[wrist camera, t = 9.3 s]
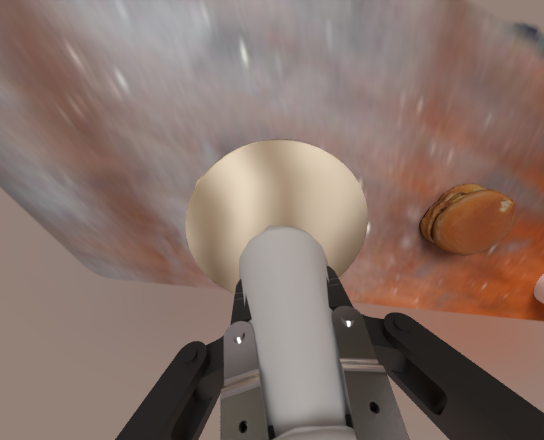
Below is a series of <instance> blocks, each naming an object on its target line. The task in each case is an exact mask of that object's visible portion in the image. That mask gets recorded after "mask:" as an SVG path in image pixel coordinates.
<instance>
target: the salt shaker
mask: <svg viewBox="0 0 544 440" xmlns="http://www.w3.org/2000/svg"><path fill="white" fill-rule="evenodd" d="M327 266H328V261H327V259H326V256H325V253H324V250H323V248H322V246H321V245H320V244H319V242H318V241H316V240H315V239H314V238H313V237H312V236H311V235H310V234H308V233H307V232H306V231H304V230H302V229H299V228H297V227H295V226H276V225H269V226H268V227H267V228H266V229H265V230H264V231H263V232H262V233H260V234H259V235H257V236H256V237H254V238H252V239H251V240H250V241H249V242H248V244H247V246H246V247H245V249H244V251H243V252H242V254H241V256H240V259H239V277H240V279H241V280H242V287H243V296H244V304H245V297H246V296H247V300H248V304H249V309H250V313H251V317H252V319H251V320H250V321H249V322H248V323H249V324H250V325H251V326H252V329H253V332H254V338H255V344H256V350H257V356H258V362H259V369H260V375H261V381H262V387H263V393H264V399H265V405H266V411H267V421H268V426H270V425H273V427H274V432H275V436H276V438H274V439H272V440H357V439H356V436H355V431H354V430H353V428H351V427H348V426H346V419H345V414H349V409H348V405H347V401H346V400H345V395H344V389H343V383H342V377H341V371H340V365H339V359H338V353H337V347H336V340H335V334H334V328H333V322H332V314H333V310H332V309H330V308H329V303H328V292H327V281H326V277H327V279H328V273H327ZM328 282H329V279H328Z"/></svg>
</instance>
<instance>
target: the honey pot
mask: <svg viewBox="0 0 544 440" xmlns="http://www.w3.org/2000/svg"><path fill="white" fill-rule="evenodd" d="M534 296H535V298H536V299H537V300H538V301H540V302H542V303H543V304H544V274H543V275H542V276H541V277H540V279H539V280H538V282H537V283H536V285H535V288H534Z"/></svg>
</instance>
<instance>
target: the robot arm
mask: <svg viewBox="0 0 544 440" xmlns="http://www.w3.org/2000/svg"><path fill="white" fill-rule="evenodd" d="M327 273H328V279H329V282H328V279H327V277H326V281H327V292H328V303H329V308H330V309H332V310H333V314H332V322H333V328H334V334H335V340H336V347H337V353H338V359H339V365H340V371H341V377H342V383H343V389H344V395H345V400H346V401H347V405H348V409H349V414H345V419H346V426H348V427H351V428H353V430H354V431H355V436H356V439H357V440H410V439H409V436H408V433H407V431H406V428H405V425H404V422H403V419H402V416H401V413H400V410H399V408H398V405H397V402H396V399H395V396H394V393H393V390H392V387H391V385H390V382H389V379H388V376H389V377H390V378H391V379H392V380H393V381H394V382H395V383H396V384H397V385H398V386H399V387H400V388H401V389H402V390H403V391H404V392H405V393H406V394H407V396H409V398H410V399H411V400H412V401H413V402H414V403H415V404H416V405H417V406H418V407H419V408H420V409H421V410H422V411H423V412H424V413H425V414H426V415H427V416H428V417H429V418H430V420H432V422H433V423H434V424H435V425H436V426H437V427H438V428H439V429H440V430H441V431H442V432H443V433H444V434H445V435H446V436H447V437H448V438H449V439H450V440H544V413H543V412H541V411H540V410H538V409H537V408H536V407H534V406H533V405H532V404H530V403H529V402H527V401H526V400H525V399H523V398H522V397H521V396H519V395H518V394H516V393H515V392H513V391H512V390H511V389H509V388H508V387H507V386H505V385H504V384H503V383H501V382H500V381H498V380H497V379H496V378H494V377H493V376H491V375H490V374H488V373H487V372H486V371H484V370H483V369H482V368H480V367H479V366H478V365H476V364H475V363H473V362H472V361H471V360H469V359H468V358H466V357H465V356H464V355H462V354H461V353H459V352H458V351H457V350H455V349H454V348H452V347H451V346H450V345H448V344H447V343H446V342H444V341H443V340H441V339H440V338H438V337H437V336H436V335H434V334H433V333H432V332H430V331H429V330H428V329H426V328H425V327H423V326H422V325H421V324H419V323H418V322H416V321H415V320H413V319H412V318H411V317H409V316H407V315H405V314H402V313H389V314H387V315H386V316H385V318H384V319H379V318H372V317H368V316H364V315H362V314H361V313H360V312H359V311H358V310H357V309H355V308H354V307H353V306H352V304H351V302H350V300H349V298H348V296H347V294H346V292H345V290H344V288H343V286H342V284H341V282H340V280H339V279H338V276H337V274H336V272H335V271H334V270H333V269H332V268H331V267H329V266H327ZM251 319H252V317H251V313H250V309H249V304H248V300H247V296H246V297H245V304H244V296H243V287H242V280H241V279H240V280H239V282H238V283H237V285H236V289H235V297H234V304H233V311H232V319H231V325H230V326H229V327H228V328H227V330H226V331H225V334H224V336H222V337H221V338H220V339H218V340H216V341H214V342H212V343H210V344H208V345H206V346H205V344H204V343H202V342H199V341H194V342H191V343H189V344H187V345H185V346H184V347H183V348H182V349H181V350H180V351H179V352H178V354H177V355H176V357H175V358H174V359H173V361H172V362H171V364H170V365H169V366H168V368H167V369H166V370H165V372H164V373H163V374H162V376H161V377H160V379H159V380H158V381H157V383H156V384H155V386H154V387H153V388H152V390H151V391H150V392H149V394H148V395H147V397H146V398H145V399H144V401H143V402H142V404H141V405H140V406H139V408H138V409H137V410H136V412H135V413H134V414H133V416H132V417H131V419H130V420H129V421H128V423H127V424H126V426H125V427H124V428H123V430H122V431H121V432H120V434H119V435H118V436H117V438H116V439H115V440H198V439H199V437H200V435H201V433H202V430H203V428H204V426H205V424H206V422H207V420H208V418H209V416H210V414H211V412H212V410H213V408H214V406H215V404H216V401H217V399H218V397H219V395H220V393H221V397H220V403H221V404H220V405H221V406H220V413H221V414H220V425H221V426H220V440H272V439H274V438H276V436H275V432H274V427H273V425H270V426H268V421H267V411H266V405H265V399H264V393H263V387H262V381H261V375H260V369H259V362H258V356H257V350H256V344H255V338H254V332H253V329H252V326H251V325H250V324H249V323H248V322H249V321H250V320H251ZM387 375H388V376H387Z"/></svg>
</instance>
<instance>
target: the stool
mask: <svg viewBox="0 0 544 440" xmlns="http://www.w3.org/2000/svg"><path fill="white" fill-rule="evenodd" d="M367 224H368V211H367V204H366V200H365V197H364V193H363V191H362V189H361V187H360V185H359V183H358V181H357V179H356V178H355V177H354V175H353V174H352V172H351V171H350V170H349V169H348V168H347V167H346V166H345V165H344V164H343V162H342V160H341V159H340V158H338V157H336V156H334V155H332V154H329V153H327V152H325V151H323V150H322V149H319V148H317V147H315V146H312V145H309V144H307V143H304V142H300V141H295V140H288V139H270V140H262V141H258V142H253V143H250V144H247V145H245V146H242V147H239V148H237V149H236V150H234V151H232V152H230V153H228V154H227V155H226V156H224V157H222V158H220V159H219V160H218V161H217V162H216V163H215V164H214V165H213V166H212V167H211V168H210V169H209V170H208V171H207V172H206V173H205V174H204V175H203V176H202V177H201V178H200V179H199V180H198V181H197V183H196V188H195V190H194V192H193V194H192V196H191V198H190V202H189V205H188V208H187V214H186V236H187V241H188V245H189V248H190V251H191V253H192V255H193V257H194V259H195V261H196V262H197V264H198V265H199V267H200V268H201V269H202V271H203V272H204V273H205V274H206V275H207V276H208V277H209V278H210V279H211V280H212V281H213V282H215V283H216V284H218V285H219V286H220V287H222V288H224V289H226V290H227V291H229V292H231V293H234V294H235V289H236V285H237V283H238V282H239V280H240V277H239V259H240V256H241V254H242V252H243V251H244V249H245V247H246V246H247V244H248V242H249V241H250V240H251V239H252V238H254V237H256V236H257V235H259V234H260V233H262V232H263V231H264V230H265V229H266V228H267V227H268V226H269V225H276V226H295V227H297V228H299V229H302V230H304V231H306V232H307V233H308V234H310V235H311V236H312V237H313V238H314V239H315V240H316V241H318V242H319V244H320V245H321V246H322V248H323V250H324V253H325V256H326V259H327V261H328V266H329V267H331V268H332V269H333V270H334V271H335V272H336V274H337V276H338V278H339V277H340V276H341V275H342V274H343V273H344V272H345V271H346V270H347V269H348V268H349V266H350V265H351V264H352V263H353V261H354V260H355V258H356V257H357V255H358V253H359V251H360V249H361V247H362V245H363V242H364V239H365V235H366V231H367Z"/></svg>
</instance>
